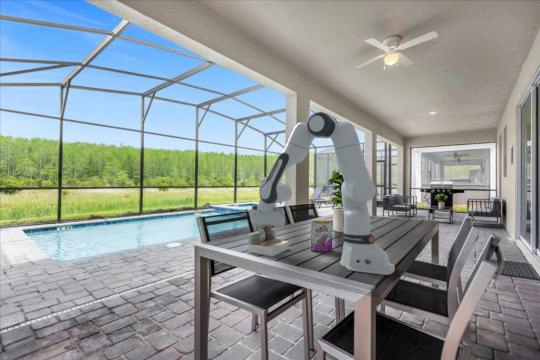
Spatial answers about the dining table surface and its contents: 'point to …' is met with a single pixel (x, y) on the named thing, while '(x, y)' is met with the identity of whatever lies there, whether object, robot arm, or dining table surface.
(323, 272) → the dining table surface
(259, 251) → the white l-shaped block
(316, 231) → the candy bar box
